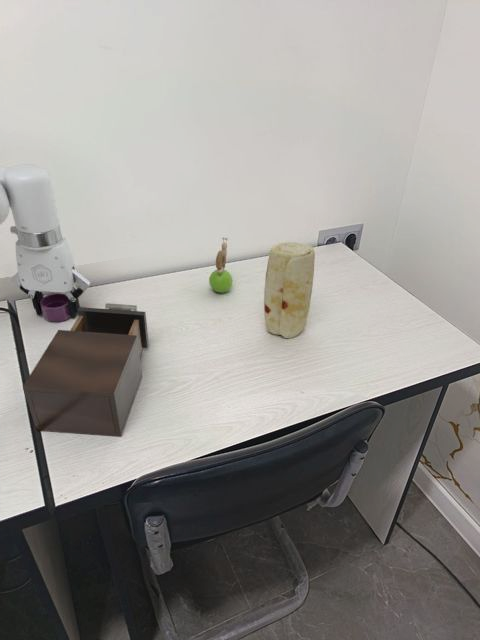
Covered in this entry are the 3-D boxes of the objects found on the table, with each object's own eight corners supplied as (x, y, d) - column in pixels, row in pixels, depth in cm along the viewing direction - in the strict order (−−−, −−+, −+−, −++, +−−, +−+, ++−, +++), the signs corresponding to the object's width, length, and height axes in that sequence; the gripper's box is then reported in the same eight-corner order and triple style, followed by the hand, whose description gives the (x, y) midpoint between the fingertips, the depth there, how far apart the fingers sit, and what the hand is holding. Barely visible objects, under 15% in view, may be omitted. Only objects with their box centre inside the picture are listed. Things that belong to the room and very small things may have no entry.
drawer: (94, 323, 102) (88, 290, 97) (154, 327, 102) (152, 295, 97) (61, 386, 87) (52, 351, 82) (131, 391, 87) (127, 356, 82)
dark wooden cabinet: (68, 371, 91) (58, 329, 85) (142, 377, 91) (137, 335, 85) (36, 430, 79) (22, 386, 74) (121, 436, 80) (113, 393, 74)
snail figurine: (235, 284, 119) (236, 238, 112) (229, 298, 114) (230, 251, 107) (213, 281, 120) (213, 235, 112) (206, 295, 115) (206, 247, 107)
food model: (302, 321, 109) (313, 236, 96) (310, 339, 104) (323, 252, 91) (258, 324, 107) (264, 238, 94) (265, 342, 102) (272, 254, 89)
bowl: (39, 322, 102) (35, 307, 100) (49, 306, 107) (46, 292, 105) (67, 324, 102) (64, 309, 100) (77, 308, 107) (74, 294, 105)
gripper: (-16, 239, 90) (9, 320, 101) (79, 246, 91) (93, 326, 102) (3, 222, 96) (24, 300, 107) (91, 229, 96) (104, 306, 108)
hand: (58, 312), depth 104 cm, fingers open, 6 cm apart
